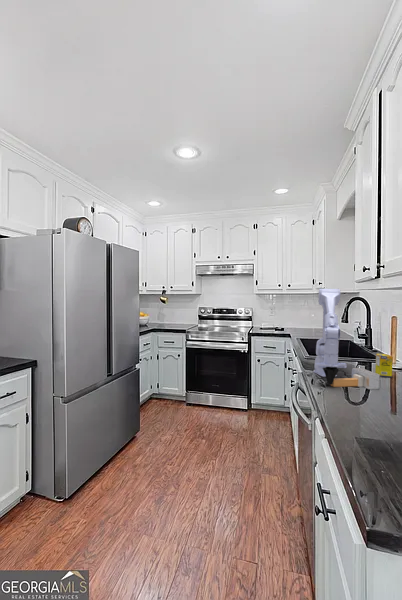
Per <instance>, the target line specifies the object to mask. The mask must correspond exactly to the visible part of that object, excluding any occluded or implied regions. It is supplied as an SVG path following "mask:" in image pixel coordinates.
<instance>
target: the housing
mask: <svg viewBox="0 0 402 600" xmlns="http://www.w3.org/2000/svg"><path fill="white" fill-rule="evenodd" d="M353 374H361V375H363V376H365V378H364V387H363V388H365V389H368V390H380V378H381V377H380V375H379V374H376V373H375V372H373V371H370V370H368V369H365V368H363V367H354V368H353V367H352V368H351V378H353Z"/></svg>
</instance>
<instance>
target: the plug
mask: <svg viewBox="0 0 402 600" xmlns="http://www.w3.org/2000/svg"><path fill="white" fill-rule="evenodd" d="M364 378H365V376H363V375H361V374H353V378H352V377H344V378H340V377H339V378H338V377H337V378H336V377H335V378H334V380H333V383H332V384H329V385H330V386H331V387H334V388H337V387H338V388H339V387H341V388H343V387H362V388H365V387H364Z"/></svg>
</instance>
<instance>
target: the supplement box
mask: <svg viewBox="0 0 402 600" xmlns="http://www.w3.org/2000/svg"><path fill="white" fill-rule="evenodd" d="M393 360H394V357H393V355H390V354H386V353H385V354H384V353H375V370H374V371H375V372H374V373H376V374H379V375H380V377H379V378H390V379H391V378H393Z"/></svg>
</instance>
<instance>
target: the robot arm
mask: <svg viewBox="0 0 402 600" xmlns="http://www.w3.org/2000/svg"><path fill="white" fill-rule="evenodd" d="M317 298H318V302H317V303H318V305H319V306H322V309H323V310H322V337H320V338H319V339H318V340H317V341H316V345H315V354H316V357H315V360H314V370H312V372H313V373H315V374H316V375H319V376H320V377H324V378H325V377H326V383H327V384H328V385H330V384H332V383H333V380H334V379H335V378H336V377H337V376H338V375H337V374H338V372H339V369H340V368H341V369H342V368H343V369H346V368H347V366H348V365H347V363H346V362H339V342H340V339H341V328H340V325H339V318H338V315H337V314H336V306H338V304H339V303H340V300H341V289H340V288H319V289H318V297H317Z"/></svg>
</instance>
